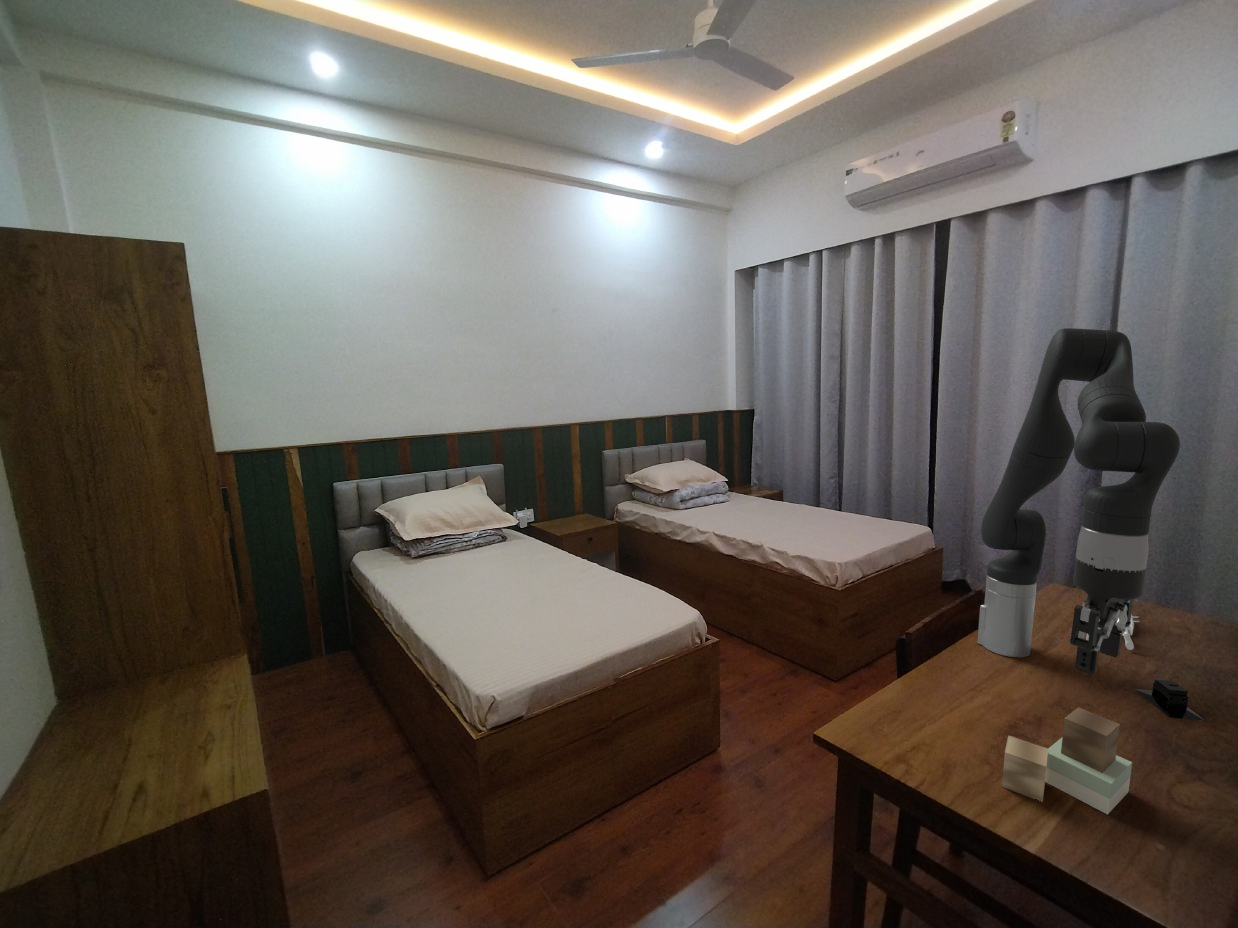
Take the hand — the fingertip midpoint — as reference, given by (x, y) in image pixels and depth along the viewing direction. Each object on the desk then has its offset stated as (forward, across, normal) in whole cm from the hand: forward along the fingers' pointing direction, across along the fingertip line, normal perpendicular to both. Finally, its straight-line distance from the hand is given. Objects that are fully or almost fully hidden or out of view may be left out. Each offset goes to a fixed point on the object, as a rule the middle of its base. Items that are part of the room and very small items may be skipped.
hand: (1097, 662), depth 79 cm
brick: (+21, +8, -5) cm, 22 cm away
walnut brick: (+15, 0, 0) cm, 16 cm away
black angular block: (+22, -38, 0) cm, 44 cm away
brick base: (+20, 0, 0) cm, 21 cm away
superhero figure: (+22, -68, -18) cm, 74 cm away
